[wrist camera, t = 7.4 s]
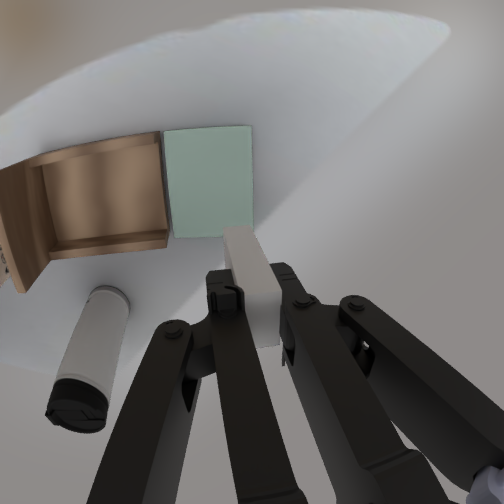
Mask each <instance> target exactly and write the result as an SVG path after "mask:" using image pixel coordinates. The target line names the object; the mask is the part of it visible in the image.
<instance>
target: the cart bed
mask: <svg viewBox="0 0 504 504" xmlns="http://www.w3.org/2000/svg"><path fill="white" fill-rule="evenodd" d="M169 233H170V227H169V219H168V211H167V203H166V194H165V185H164V175H163V165H162V153H161V141H160V131H157V132H149V133H142V134H135V135H129V136H123V137H117V138H111V139H105V140H100V141H95V142H90V143H85V144H80V145H76V146H71V147H67V148H63V149H58V150H54V151H50V152H47V153H43V154H39V155H37V156H34V157H31V158H28V159H26V160H23V161H21V162H18V163H15V164H13V165H11V166H8V167H6V168H3V169H1V170H0V245H1V248H2V251H3V254H4V257H5V260H6V263H7V266H8V269H9V272H10V274H11V277H12V280H13V282H14V285H15V287H16V290H17V292H18V293H26V292H27V291H28V290H29V288H30V287H31V286H32V284H33V283H34V281H35V280H36V279H37V277H38V276H39V275H40V274H41V272H42V271H43V270H44V268H45V267H46V266H47V265H48V263H49V262H50V261H51V260H57V259H66V258H75V257H84V256H93V255H103V254H112V253H122V252H132V251H141V250H151V249H161V248H167V243H168V238H169Z"/></svg>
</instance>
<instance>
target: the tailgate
mask: <svg viewBox="0 0 504 504" xmlns="http://www.w3.org/2000/svg"><path fill="white" fill-rule="evenodd" d="M164 145H165V157H166V168H167V179H168V189H169V198H170V207H171V215H172V223H173V231H174V238H191V237H223V227H232V226H243V225H250V226H251V228H252V230H253V232H254V220H253V173H252V127H251V125H250V126H222V127H205V128H192V129H181V130H170V131H164Z"/></svg>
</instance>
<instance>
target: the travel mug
mask: <svg viewBox="0 0 504 504" xmlns="http://www.w3.org/2000/svg"><path fill="white" fill-rule="evenodd" d="M129 311H130V305H129V302H128V299H127V298H126V296H125V295H124V294H123V293H122V292H120V291H119V290H117V289H115V288H113V287H109V286H101V287H98V288H96V289H94V290H93V291H92V292H91V294H90V296H89V298H88V300H87V302H86V305H85V307H84V309H83V311H82V313H81V316H80V318H79V320H78V322H77V325H76V327H75V330H74V332H73V334H72V337H71V339H70V342H69V344H68V347H67V349H66V352H65V354H64V357H63V359H62V362H61V365H60V368H59V370H58V373H57V376H56V379H55V382H54V385H53V390H52V392H51V395H50V398H49V402H48V405H47V411H46V413H45V416H46V417H47V418H48V419H49V420H50V421H51V422H52V423H53V425H58V426H59V425H60V426H61V427H63V428H65V429H68V430H71V431H74V432H78V433H95V432H99V431H100V430H102V429H103V428H104V427H105V425H106V419H107V411H108V408H109V404H110V398H111V393H112V387H113V382H114V377H115V372H116V367H117V362H118V357H119V353H120V348H121V344H122V340H123V335H124V331H125V327H126V323H127V319H128V315H129Z"/></svg>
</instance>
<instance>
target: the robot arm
mask: <svg viewBox="0 0 504 504" xmlns="http://www.w3.org/2000/svg"><path fill="white" fill-rule="evenodd" d="M223 238H224V252H225V267H226V269H224V270H214V271H209V273H208V274H207V276H206V286H207V302H208V310H209V313H208V315H207V316H206V317H205V319H203V320H202V321H200V322H199V323H196V324H193V325H189V323H187V322H185V321H183V320H178V319H177V320H169V321H166V322H163V323H162V324H160V325H159V326H158V327H157V329H156V330H155V332H154V334H153V337H152V339H151V341H150V343H149V345H148V348H147V350H146V352H145V354H144V357H143V359H142V361H141V363H140V366H139V368H138V370H137V373H136V375H135V377H134V380H133V382H132V384H131V387H130V390H129V392H128V394H127V396H126V399H125V401H124V404H123V406H122V409H121V411H120V413H119V416H118V419H117V421H116V423H115V426H114V429H113V432H112V434H111V436H110V439H109V442H108V444H107V447H106V449H105V452H104V455H103V457H102V460H101V463H100V466H99V468H98V471H97V474H96V477H95V480H94V483H93V485H92V489H91V491H90V495H89V497H88V500H87V503H86V504H175V501H176V496H177V491H178V486H179V481H180V476H181V471H182V467H183V462H184V458H185V453H186V448H187V444H188V439H189V435H190V430H191V425H192V421H193V416H194V412H195V407H196V403H197V399H198V394H199V390H200V385H201V378H202V377H205V376H207V375H210V374H213V373H215V372H216V374H217V380H218V388H219V395H220V402H221V409H222V415H223V421H224V427H225V433H226V439H227V445H228V451H229V457H230V462H231V468H232V473H233V478H234V483H235V489H236V494H237V499H238V504H308V502H307V499H306V497H305V495H304V493H303V491H302V490H301V489H299V487H298V485H297V483H296V480H295V477H294V474H293V471H292V468H291V464H290V461H289V458H288V455H287V452H286V449H285V445H284V442H283V439H282V435H281V433H280V429H279V426H278V422H277V419H276V416H275V412H274V409H273V406H272V402H271V399H270V396H269V392H268V389H267V385H266V382H265V379H264V375H263V372H262V369H261V365H260V361H259V358H258V355H257V351H256V349H257V348H263V347H269V346H276V345H280V337H281V339H282V342H283V352H282V366H285V361H286V363H287V366H288V369H289V371H290V374H291V377H292V379H293V382H294V385H295V388H296V390H297V393H298V395H299V398H300V401H301V404H302V406H303V409H304V412H305V414H306V417H307V420H308V422H309V425H310V428H311V430H312V433H313V436H314V438H315V441H316V444H317V446H318V449H319V452H320V454H321V457H322V459H323V462H324V465H325V467H326V470H327V473H328V476H329V478H330V481H331V483H332V486H333V489H334V491H335V494H336V499H337V502H336V503H337V504H458V503H456V502H453V501H450V500H449V499H448V497H447V496H446V494H445V492H444V490H443V488H442V486H441V484H440V483H439V481H438V479H437V477H436V475H435V473H434V472H433V470H432V468H431V466H430V465H429V463H428V461H427V460H426V458H425V456H426V457H427V458H428V459H429V461H430V462H432V464H433V465H434V466H435V467H436V468H437V469H438V470H439V471H440V472H441V473H442V474H443V475H444V476H445V477H447V478H448V479H449V480H450V481H451V482H452V483H454V484H455V485H457V486H458V487H459V488H461V489H463V490H465V491H467V492H469V495H468V496H467V498H466V504H504V411H503V410H502V409H501V408H500V407H499V406H497V405H496V404H495V403H494V402H493V401H492V400H491V399H489V398H488V397H487V396H486V395H485V394H484V393H483V392H481V391H480V390H479V389H478V388H477V387H475V386H474V385H473V384H472V383H471V382H470V381H468V380H467V379H466V378H465V377H464V376H462V375H461V374H460V373H459V372H458V371H457V370H455V369H454V368H453V367H451V365H449V364H448V363H447V362H446V361H445V360H443V359H442V358H441V357H440V356H438V355H437V354H436V353H435V352H434V351H432V350H431V349H430V348H429V347H428V346H426V345H425V344H424V343H422V342H421V341H420V340H419V339H417V338H416V337H415V336H414V335H413V334H411V333H410V332H409V331H408V330H406V329H405V328H404V327H403V326H401V325H400V324H399V323H398V322H396V321H395V320H394V319H393V318H391V317H390V316H389V315H387V314H386V313H385V312H384V311H382V310H381V309H380V308H378V307H377V306H376V305H374V304H373V303H372V302H371V301H370V300H368V299H366V298H364V297H362V296H358V295H350V296H346V297H344V298H342V300H341V301H340V305H339V306H338V305H324V304H321V303H320V301H319V300H318V299H317V298H316V297H315V296H313V295H311V294H307V293H306V291H305V289H304V288H303V286H302V284H301V283H300V281H299V279H298V278H297V276H296V274H295V273H294V271H293V269H292V268H291V267H290V266H289V265H287V264H286V263H284V262H282V263H272V264H269V263H268V261H267V259H266V256H265V254H264V252H263V250H262V248H261V246H260V244H259V242H258V240H257V238H256V236H255V234H254V232H253V230H252V228H251V226H250V225H243V226H232V227H223ZM364 341H365V342H366V343H367V344H368V345H369V348H368V347H366V346H365V345H364V344H363V343H364ZM391 421H392V422H393V423H394V424H395V425H396V426H397V427H398V428H399V429H400V430H401V431H402V432H403V433H404V434H405V435H406V437H407V438H408V439H409V440H410V441H411V442H412V443H413V444H414V445H415V446H416V447H417V448H418V449H419V450H420V451H421V452H422V453H423V454H424V455H425V456H424V455H423V454H422V453H421V452H419V451H418V450H413V449H408V448H407V447H406V446H405V445H404V444H403V442H402V440H401V438H400V436H399V435H398V433H397V431H396V429H395V427H394V426H393V424H392V422H391Z"/></svg>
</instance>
